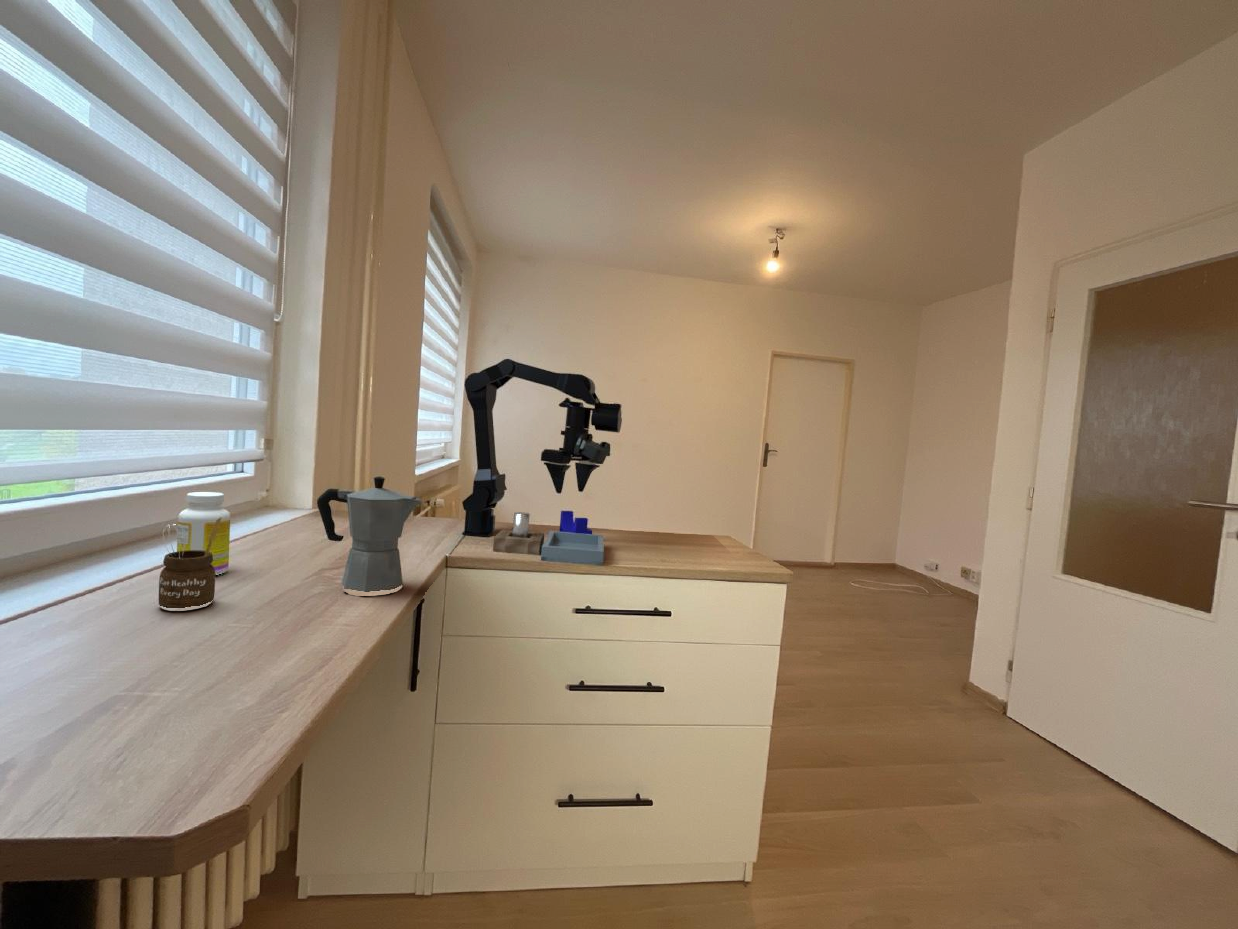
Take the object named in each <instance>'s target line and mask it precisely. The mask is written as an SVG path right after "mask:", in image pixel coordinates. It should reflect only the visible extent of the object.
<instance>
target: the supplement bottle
mask: <svg viewBox="0 0 1238 929" xmlns="http://www.w3.org/2000/svg"><path fill="white" fill-rule="evenodd" d="M224 496H225V494H224V493H222V492H215V491H213V492H212V491H198V492H188V493H187V494H186V502H187V507H186V508H185V509H184V510H181V512H180V513H179V514H178V516H177V524H178V525H180V526H181V527H182V528H181V527H180V526H178V525H177V530H178V532H177V531H176V534H179V536H177V535H176V536H177V537H176V539H177V540H176V552H177V551H179V549H180V545H181V551H183V550H184V548H185V550H184V551H186V550H203V551H206V550H207V547H208V544H209V538H210V535H211V533H212V530H213V528H214V525H215V523H216V520H217V519H219V518H220V517H222V518H221V521H220V525H219V528H218V531H217V534H216V537H215V539H214V540H213V542H212V545H211V547H210V550H209V552H211V553H212V555H213V562H212V563H211V565H212V566H213V567H214V569H215V575H216V574H220V573H223V572H225V573H227V572H228V570H229V564H230V563H229V560H230V542H231V541H230V538H231V536H230V535H231V534H230V533H231V513H230V511H228V510H227V509H225V508H223V502H224V501H225V500H224V499H225V498H224ZM182 529H183V530H182ZM183 531H184V534H183ZM184 535H185V540H186V545H185V547H184V544H185V540H184ZM179 538H180V541H179V542H178V539H179ZM226 571H227V572H226Z"/></svg>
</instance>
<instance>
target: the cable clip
mask: <svg viewBox="0 0 1238 929" xmlns="http://www.w3.org/2000/svg"><path fill="white" fill-rule="evenodd" d="M588 521H589V519H588V518H587V517H574V511H572V510H560V522H559V531H558V532H570V533H582V534H593V530H592V529H590V528H588V523H589V522H588Z"/></svg>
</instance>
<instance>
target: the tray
mask: <svg viewBox="0 0 1238 929" xmlns="http://www.w3.org/2000/svg"><path fill="white" fill-rule="evenodd" d="M604 548H605V547H604V534H595V533H594V534H593V533H592V534H582V533H570V532H559V531H556V530H549V532H548V533H547V536H546V538H545V539H544V544H543V545H542V549H541V551H540V555H541V556H540V561H541V562H551V563H552V562H553V563H554V562H555V563H566V564H577V565H578V564H579V565H588V566H589V565H591V566H603V562H604V555H605V554H604V552H605V550H604Z"/></svg>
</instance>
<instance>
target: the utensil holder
mask: <svg viewBox="0 0 1238 929" xmlns="http://www.w3.org/2000/svg"><path fill="white" fill-rule="evenodd" d="M221 518H222V517H220V518H219V519H217V520H216V523H215V525H214V528H213V530H212V533H211V535H210V538H209V544H208V547H207V550H206V551H203V550H186V551H184V550H185V548H184V550H183V551H181V545H180V549H179V551H177V550H176V551H175V550H174V547H173V542H172V538H171V536H168V538H169V543H170V546H171V550H172V552H170V551H169V549H168V547H167V545H166V540H165V535H164V534H165V530H166V527H167V528H168V529H167V532H168V535H171V532H170V531H171V526H174V528H175V530H176V534H177V532H178V526H180V525H178V523H170V524H168V525H166V527H164V528H163V531H162V539H163V544H164V546H165V548H166V550H167V552H168V553H166V554H165V555H164V559H163V561H162V562H163V565H164V567H163V568H162V570H161V572H160V574H159V581H158V606H159V605H160V606H163V607H166V608H185V607H191V606H200V605H203V604H206V603H208V602H211V601H212V600H213V599H214V598H215V591H216V589H215V588H216V576H215V569H214V567H213V566H212V565H211V563H212V562H213V555H212V553H211V552H209V550H210V547H211V545H212V542H213V540H214V539H215V537H216V534H217V531H218V528H219V525H220V521H221ZM176 526H177V527H176ZM180 527H181V526H180ZM181 528H182V527H181ZM182 530H183V529H182ZM183 534H184V531H183ZM176 536H179V534H177V535H176ZM184 540H185V535H184ZM179 541H180V538H179V539H178V542H179ZM185 545H186V540H185V544H184V547H185ZM213 601H214V600H213Z"/></svg>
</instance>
